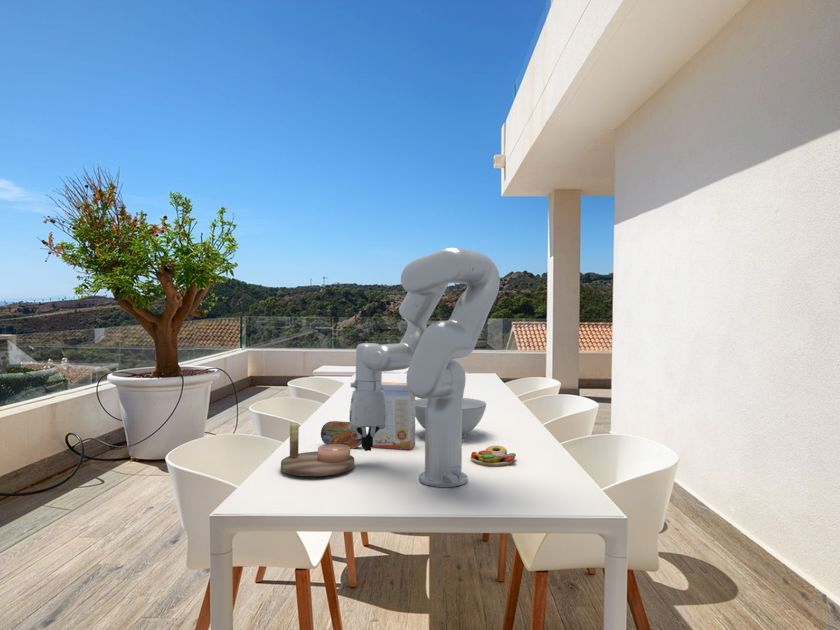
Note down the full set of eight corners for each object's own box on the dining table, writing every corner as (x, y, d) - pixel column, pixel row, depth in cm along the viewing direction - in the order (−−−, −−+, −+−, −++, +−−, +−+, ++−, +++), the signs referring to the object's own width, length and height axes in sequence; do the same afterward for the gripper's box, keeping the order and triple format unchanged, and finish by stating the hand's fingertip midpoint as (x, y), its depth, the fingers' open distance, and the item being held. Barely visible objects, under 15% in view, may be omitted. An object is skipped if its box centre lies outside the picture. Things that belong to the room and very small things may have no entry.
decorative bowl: (430, 426, 209) (430, 395, 209) (495, 432, 198) (496, 400, 198) (397, 439, 185) (397, 404, 185) (470, 448, 173) (470, 411, 174)
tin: (320, 446, 175) (320, 420, 175) (324, 444, 178) (324, 418, 178) (362, 450, 171) (362, 423, 171) (366, 447, 174) (366, 421, 174)
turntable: (363, 471, 143) (363, 430, 143) (286, 479, 135) (287, 436, 135) (344, 453, 161) (344, 417, 162) (276, 460, 154) (276, 421, 154)
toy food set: (499, 454, 167) (499, 443, 167) (525, 464, 155) (525, 453, 155) (462, 459, 161) (462, 448, 161) (486, 470, 149) (487, 458, 149)
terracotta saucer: (353, 461, 148) (354, 449, 148) (321, 464, 144) (321, 452, 144) (345, 453, 156) (345, 442, 156) (314, 456, 153) (314, 445, 153)
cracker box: (415, 446, 176) (416, 382, 176) (410, 450, 170) (411, 384, 170) (375, 443, 180) (375, 381, 180) (369, 447, 174) (369, 383, 174)
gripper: (346, 388, 148) (344, 455, 148) (397, 387, 154) (395, 451, 154) (339, 385, 155) (338, 448, 155) (388, 383, 161) (387, 444, 161)
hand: (366, 449), depth 154 cm, fingers closed
